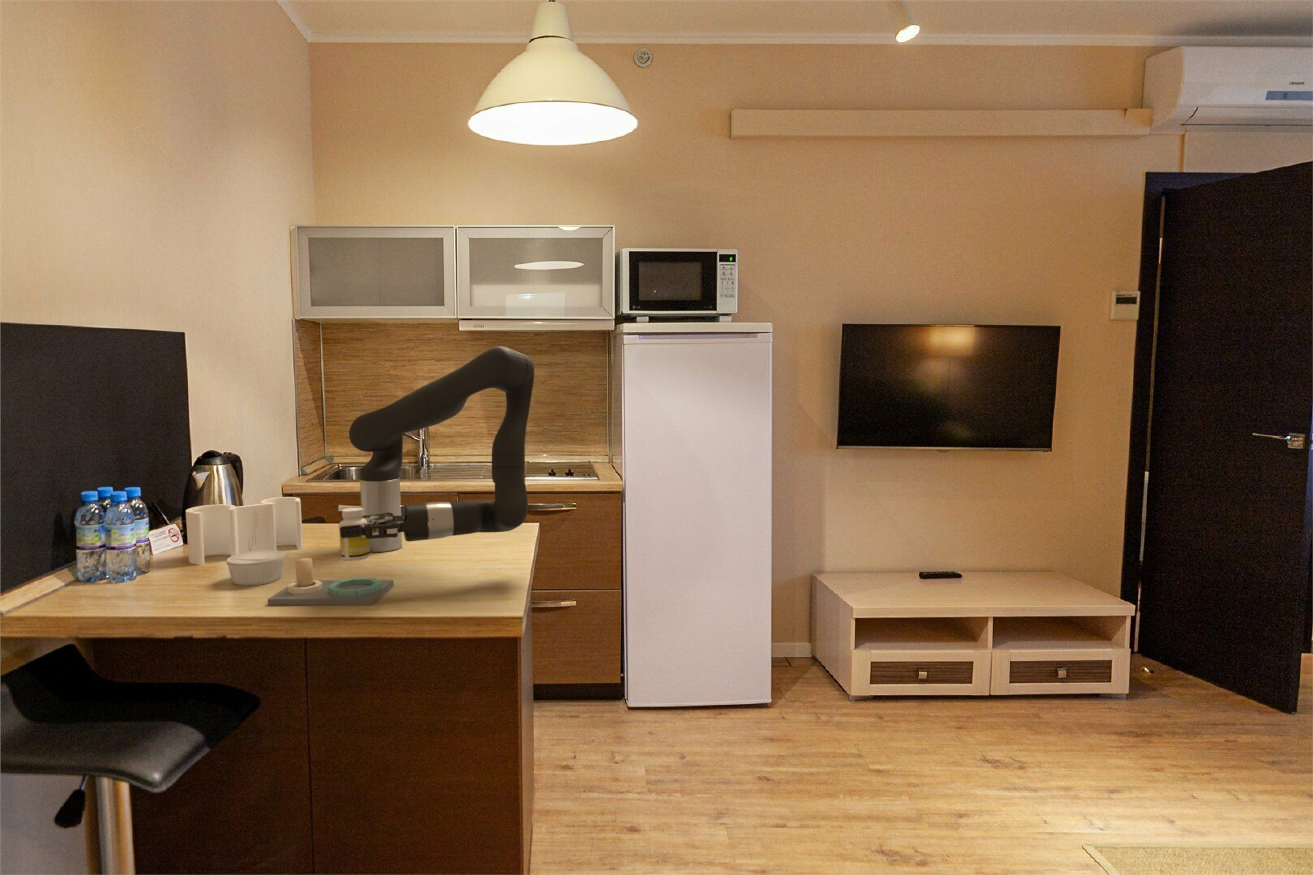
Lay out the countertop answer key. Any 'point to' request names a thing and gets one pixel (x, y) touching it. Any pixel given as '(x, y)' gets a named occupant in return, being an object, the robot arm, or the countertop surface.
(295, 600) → the socket board
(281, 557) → the ramekin
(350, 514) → the supplement bottle
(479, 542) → the countertop surface
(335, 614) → the countertop surface
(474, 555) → the countertop surface
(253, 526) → the bracket
